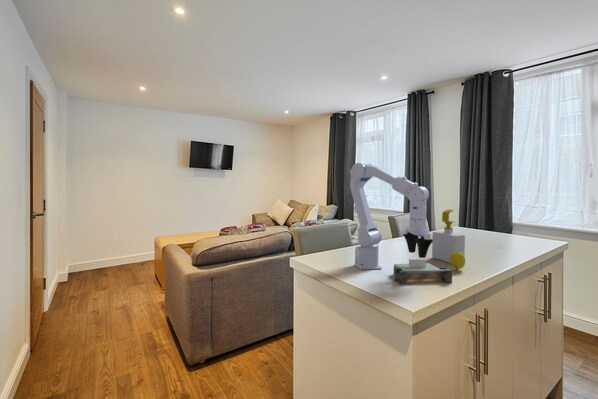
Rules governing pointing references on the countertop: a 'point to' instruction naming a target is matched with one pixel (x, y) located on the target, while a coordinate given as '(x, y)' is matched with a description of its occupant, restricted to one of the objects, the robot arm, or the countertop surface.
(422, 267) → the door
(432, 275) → the brown wooden tray
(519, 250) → the countertop surface
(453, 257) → the lemon
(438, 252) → the soap bottle
